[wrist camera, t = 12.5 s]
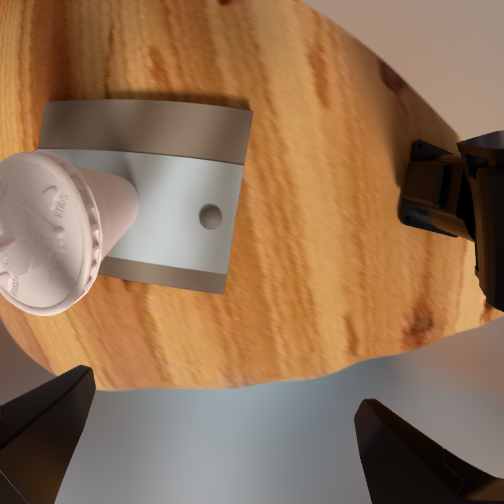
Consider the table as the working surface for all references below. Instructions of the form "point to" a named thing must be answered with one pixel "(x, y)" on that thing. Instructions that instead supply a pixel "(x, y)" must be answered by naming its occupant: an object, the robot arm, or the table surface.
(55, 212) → the smoothie
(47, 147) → the gray and brown board
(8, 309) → the table surface
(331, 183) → the table surface
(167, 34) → the table surface
